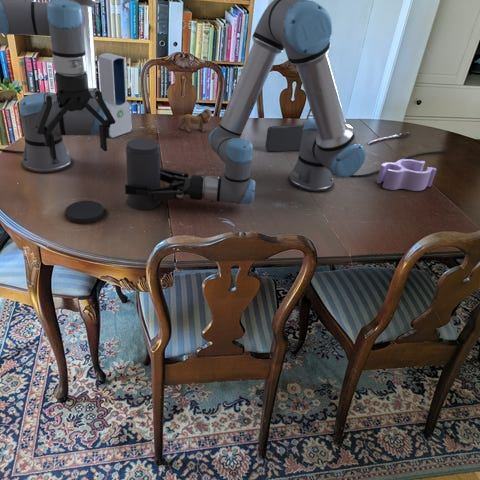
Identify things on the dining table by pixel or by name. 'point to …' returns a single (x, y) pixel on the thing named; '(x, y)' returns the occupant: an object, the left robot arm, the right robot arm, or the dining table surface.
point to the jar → (143, 170)
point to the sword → (386, 138)
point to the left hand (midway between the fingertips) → (79, 153)
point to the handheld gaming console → (284, 137)
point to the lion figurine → (196, 119)
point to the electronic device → (115, 92)
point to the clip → (406, 175)
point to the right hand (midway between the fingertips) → (129, 181)
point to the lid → (84, 212)
